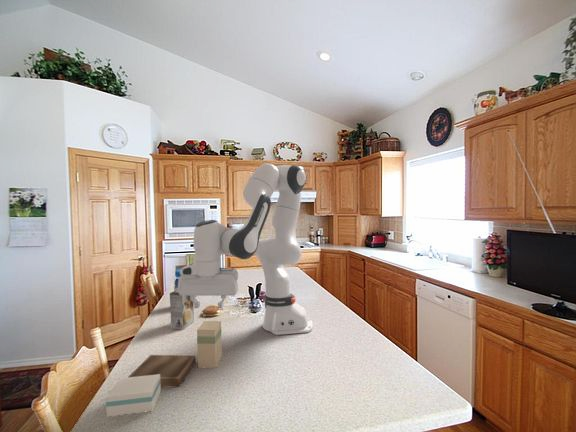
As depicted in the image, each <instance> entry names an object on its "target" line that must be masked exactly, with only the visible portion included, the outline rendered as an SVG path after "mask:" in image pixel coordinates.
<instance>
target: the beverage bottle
mask: <svg viewBox="0 0 576 432" xmlns="http://www.w3.org/2000/svg"><path fill="white" fill-rule="evenodd" d="M180 269H181V268H180ZM180 269H176V270H175V271H174V272H175V273H174V275H175V277H176V278H175V280H174V283H173V284H174V288H173V291H175V290H177V289H178V280H179V277H180V276H181V274H180Z"/></svg>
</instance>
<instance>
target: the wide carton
mask: <svg viewBox="0 0 576 432" xmlns="http://www.w3.org/2000/svg"><path fill="white" fill-rule="evenodd" d="M160 383H161V378H160V374H157V375H147V376H138V377H129V378H127V377H121V378H118V380H117V381H116V382H115V384H114V385H113V387H112V388H111V390H110V391H109V392H108V394H107V395H106V397H105V407H106V408H105V410H106V411H105V412H106V418H110V417H109V416H112V417H118V416H117V415H120V416H124V415H123V414H128V415H132V414H131V413H136V414H140V413H139V412H144V413H146V412H145V411H152V410H153V411H154V408H155V406H156V404H157V402H158V399H157V398H159V397H160V395H159V394H161V392H162V391H161V389H162V386H161V384H160ZM158 396H159V397H158ZM156 401H157V402H156ZM155 403H156V404H155ZM154 405H155V406H154ZM153 407H154V408H153ZM153 411H152V412H153Z"/></svg>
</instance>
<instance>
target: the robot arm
mask: <svg viewBox="0 0 576 432" xmlns="http://www.w3.org/2000/svg"><path fill="white" fill-rule="evenodd" d="M306 182H307V173H306V170H305V169H304V167H303V166H301V165H296V164H292V165H290V164H289V165H288V164H281V165H277V166H276V165H274V164H272V163H268V162H267V163H262V164H261V165H259V166H258V168H257V169H256V170H255V171H253V173H252V174H251V176H250V178H249V179H248V180H247V182H246V183H245V185H244V188H243V191H242V196H243V198H244V201H245V202H246V203H247V204H248V205H249V206H250V207H251V208H252V210H251V212H250V214H249V217H248V218H247V222H246V224H245V225H244V226H243V227H241V228H230V227H227V226H224V225H223V224H221V223H219V221H218V220H216V219H210V220H209V219H208V220H204V221H200V222H198V223H197V224H196V225H195V226H194V229H193V230H194V231H193V249H194V250H193V251H194V258H193V263H190V264H188V265H185V266H183V267H182V268H180V274H181V276H180V277H179V280H178V293H179V294H180V295H181V296H190V298H191V300H192V302H193V304H194V309H200V307H201V302H200V301H198V300H197V296H204V297H205V296H210V297H212V296H213V297H214V296H215V297H216V296H217V297H218V296H219V297H220V299H221V301H218V302H217V307H218V308H219V309H222V308H224V302H225V300H226V299H227V296H228V297H231V296H232V297H233V296H235V295H237V293H239V292H238V291H239V284H238V278H239V271H238V270H237V269H236V268H234V267H222V255H225V256H231V257H233V258H234V257H235V258H237V259H241V260H248V259H250V258H251V257H253V256H254V254H255V256H256V258H258V261H259V263H260V265H261V268H262V271H263V276H264V283H265V284H264V287H265V294H264V301H263V302H264V308H265V311H264V317H263V322H262V328H263V329H264V330H265V331H268V332H270V333H272V334H273V335H274V336H279V335H290V334H291V335H292V334H303V333H310V332H311V331H312V330H313V328H314V323H313V320H312V319H311V318H310V317H309V316H308V314H307V313H308V312H307V311H306V309H305V308H304V307H303V306H302V305H300V304H298V303H297V302H296V301H297V300H296V299H297V298H296V297H295V294H294V293H291V277H290V275H289V273H288V272H287V271H286V269H285V267H288V266H289V267H290V266H295V265H297V264H298V263H299V262H300V260H301V258H302V254H303V251H302V248H301V246H300V244H299V243H298V240H297V235H296V229H297V223H298V219H299V215H300V209H301V201H302V192H301V191H302V190H303V189H304V187H305V185H306ZM275 191H278V192H279V193H278V194H279V195H278V198H277V200H276V201H277V202H276V204H275V208H274V211H273V216H272V220H271V225H272V227H273V229H274V232H275V234H274V235H275V236H274V237H275V238H272V237H266V238H261V234H262V232H263V229H264V226H265V223H266V221H267V218H268V215H269V213H270V210H271V207H272V202H271V201H272V200H271V197H272V195H273V194H274V192H275ZM260 238H261V239H260ZM284 266H285V267H284Z"/></svg>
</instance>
